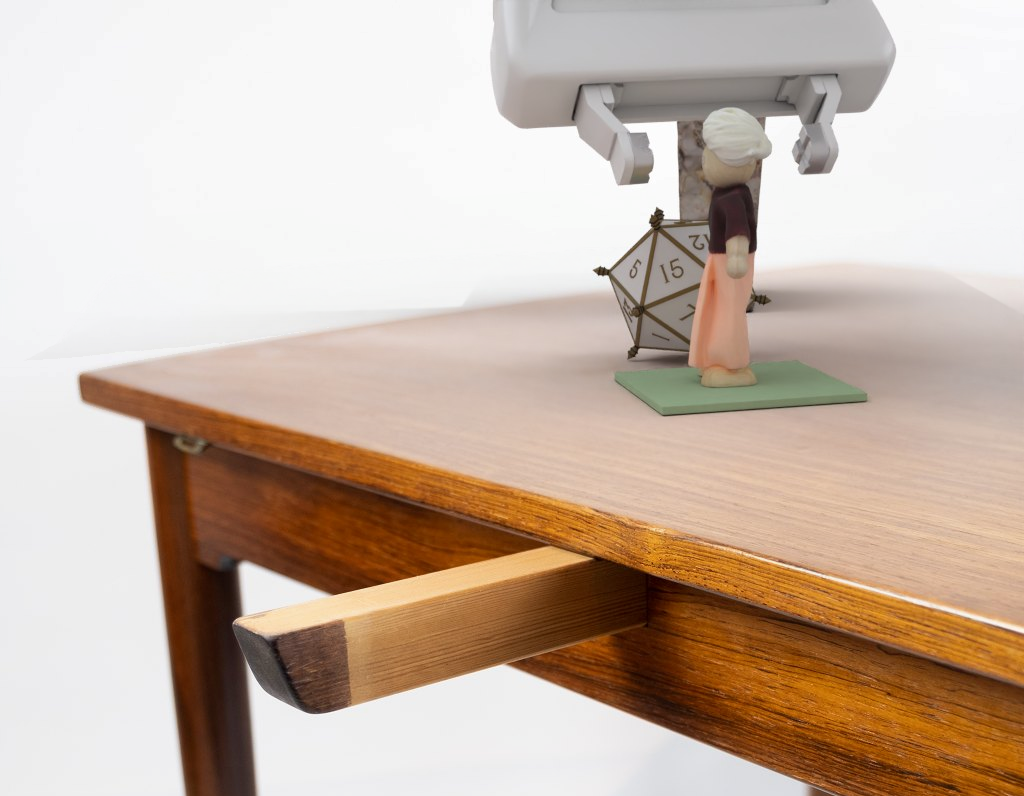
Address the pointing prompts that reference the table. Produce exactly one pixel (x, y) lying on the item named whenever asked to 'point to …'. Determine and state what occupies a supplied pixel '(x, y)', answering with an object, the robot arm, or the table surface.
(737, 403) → the mat
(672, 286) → the game die
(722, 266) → the grandmother figurine
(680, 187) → the stone block
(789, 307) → the table surface
